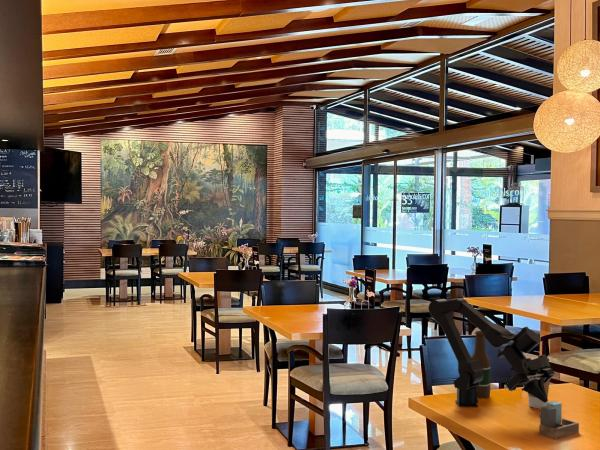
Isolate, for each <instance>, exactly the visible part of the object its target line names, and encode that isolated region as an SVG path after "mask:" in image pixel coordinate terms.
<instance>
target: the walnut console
mask: <svg viewBox="0 0 600 450" xmlns="http://www.w3.org/2000/svg"><path fill="white" fill-rule="evenodd" d="M579 430H580V423H579V422H576V421H573V420H569V419H566V418H561V424H560V423H556V428H551V427H548V426H545V425H542V424H539V435H540V436H543V437H546V438H549V439H553V440H559V439H563V438H566V437H569V436H573V435H577V434H579V432H580V431H579Z"/></svg>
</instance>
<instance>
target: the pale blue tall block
mask: <svg viewBox="0 0 600 450" xmlns="http://www.w3.org/2000/svg"><path fill="white" fill-rule="evenodd" d="M562 403H563V402H558V401H555V400H551V401H547V405H546V406H550V407H553V408H556V423H560V424H562V415H563V414H562V410H563V409H562V406H563V405H562Z"/></svg>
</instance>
